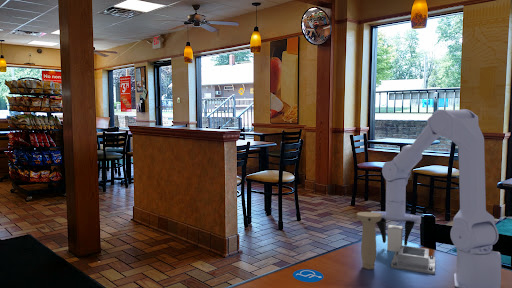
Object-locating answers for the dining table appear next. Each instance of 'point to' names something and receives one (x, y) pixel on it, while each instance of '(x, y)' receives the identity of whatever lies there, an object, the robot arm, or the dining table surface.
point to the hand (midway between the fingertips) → (394, 243)
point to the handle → (368, 238)
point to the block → (394, 238)
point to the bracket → (414, 260)
